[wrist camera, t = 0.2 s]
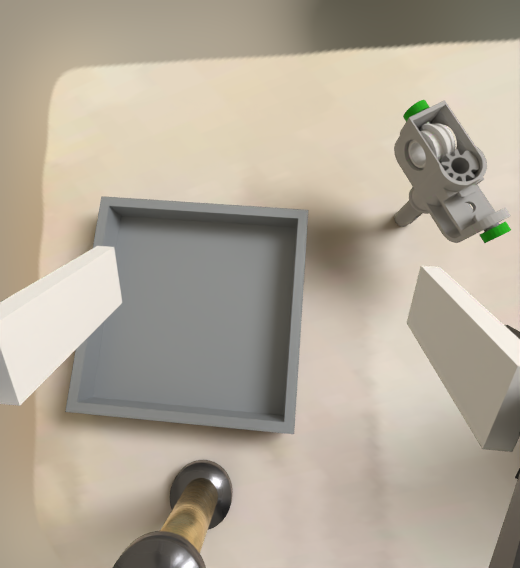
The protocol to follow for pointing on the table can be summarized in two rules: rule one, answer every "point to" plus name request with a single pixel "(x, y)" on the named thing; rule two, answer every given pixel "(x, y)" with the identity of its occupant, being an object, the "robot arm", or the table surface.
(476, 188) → the mechanical component
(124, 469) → the table surface
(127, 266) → the parts tray
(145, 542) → the bobbin
